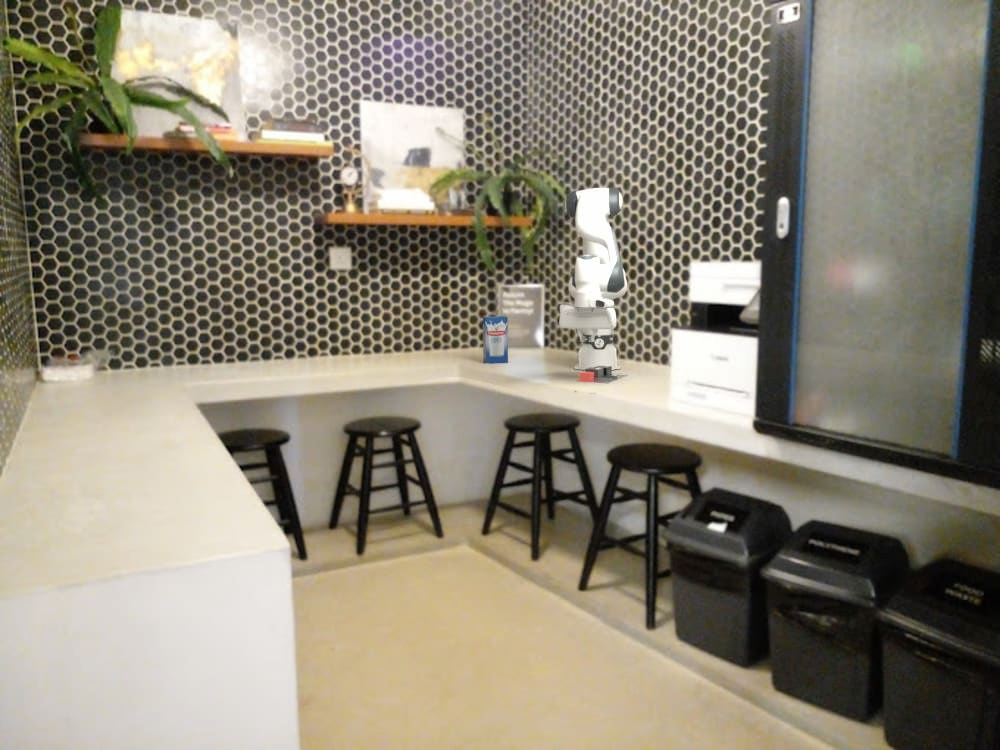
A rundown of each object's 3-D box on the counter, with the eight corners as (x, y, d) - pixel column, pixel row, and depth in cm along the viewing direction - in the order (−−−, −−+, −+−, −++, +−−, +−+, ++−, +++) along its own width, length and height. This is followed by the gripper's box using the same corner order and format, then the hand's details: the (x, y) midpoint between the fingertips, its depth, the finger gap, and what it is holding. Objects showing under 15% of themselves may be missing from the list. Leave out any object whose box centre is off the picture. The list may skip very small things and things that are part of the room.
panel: (598, 377, 282) (598, 363, 282) (628, 379, 277) (628, 365, 276) (575, 385, 263) (575, 370, 263) (607, 387, 258) (607, 372, 257)
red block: (583, 379, 266) (583, 371, 265) (594, 380, 264) (594, 372, 264) (579, 381, 262) (579, 372, 262) (589, 382, 260) (589, 373, 260)
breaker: (590, 376, 271) (590, 366, 271) (603, 377, 269) (603, 367, 269) (585, 378, 267) (585, 368, 267) (598, 379, 265) (598, 369, 264)
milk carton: (485, 363, 326) (485, 317, 323) (483, 361, 332) (482, 316, 329) (508, 362, 328) (507, 317, 325) (505, 361, 334) (504, 316, 331)
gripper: (556, 302, 261) (556, 341, 263) (611, 302, 252) (611, 343, 254) (563, 301, 267) (563, 340, 269) (618, 301, 257) (617, 342, 259)
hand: (587, 341), depth 261 cm, fingers closed
